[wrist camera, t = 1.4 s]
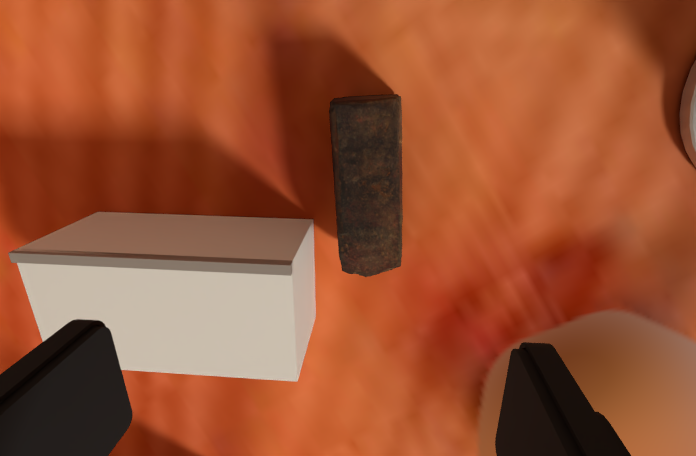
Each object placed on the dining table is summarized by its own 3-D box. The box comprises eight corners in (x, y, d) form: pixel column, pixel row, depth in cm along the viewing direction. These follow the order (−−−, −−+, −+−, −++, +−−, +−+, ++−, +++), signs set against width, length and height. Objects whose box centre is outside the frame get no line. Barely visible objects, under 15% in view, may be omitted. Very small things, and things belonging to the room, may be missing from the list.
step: (313, 219, 27) (290, 265, 20) (315, 316, 30) (296, 385, 23) (97, 211, 28) (8, 252, 22) (119, 305, 31) (46, 368, 24)
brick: (335, 96, 24) (325, 100, 20) (399, 93, 24) (402, 96, 20) (345, 250, 28) (338, 281, 24) (400, 249, 28) (403, 281, 23)
